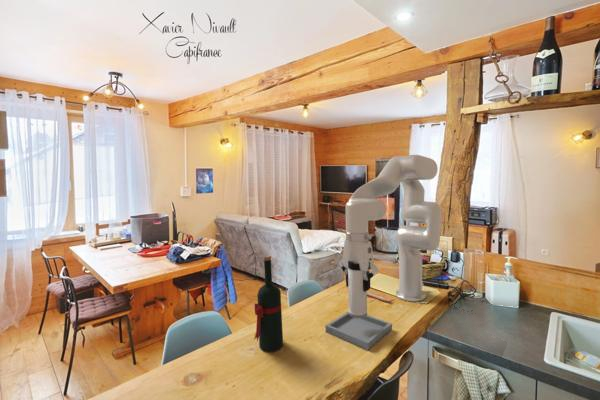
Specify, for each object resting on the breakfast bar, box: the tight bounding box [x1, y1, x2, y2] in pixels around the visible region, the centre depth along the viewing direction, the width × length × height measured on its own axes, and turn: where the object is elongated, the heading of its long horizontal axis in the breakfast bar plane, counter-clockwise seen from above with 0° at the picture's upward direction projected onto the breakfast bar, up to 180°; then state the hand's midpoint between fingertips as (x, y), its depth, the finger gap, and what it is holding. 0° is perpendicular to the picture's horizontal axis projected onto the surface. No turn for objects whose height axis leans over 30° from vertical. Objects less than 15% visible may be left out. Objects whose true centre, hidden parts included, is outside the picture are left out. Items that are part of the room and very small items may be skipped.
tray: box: [324, 310, 393, 352], centre depth 106 cm, size 16×17×2 cm
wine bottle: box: [253, 254, 284, 353], centre depth 97 cm, size 8×10×30 cm
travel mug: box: [347, 261, 368, 318], centre depth 104 cm, size 6×7×20 cm
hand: (357, 287), depth 104 cm, fingers closed on travel mug, 6 cm apart
